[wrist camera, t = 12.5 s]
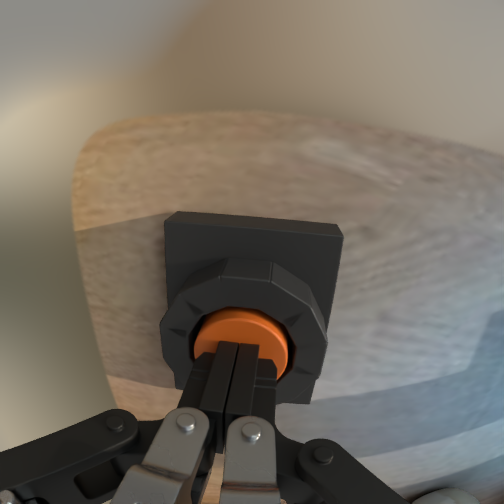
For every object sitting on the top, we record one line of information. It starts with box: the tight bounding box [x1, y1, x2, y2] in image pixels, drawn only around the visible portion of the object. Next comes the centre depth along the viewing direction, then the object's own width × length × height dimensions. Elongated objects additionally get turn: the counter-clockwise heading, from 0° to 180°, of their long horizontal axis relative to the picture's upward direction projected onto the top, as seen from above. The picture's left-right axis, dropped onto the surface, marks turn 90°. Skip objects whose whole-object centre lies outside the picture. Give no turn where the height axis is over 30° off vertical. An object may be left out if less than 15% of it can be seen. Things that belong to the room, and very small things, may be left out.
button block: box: [160, 211, 344, 405], centre depth 14 cm, size 9×7×4 cm
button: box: [194, 306, 288, 379], centre depth 13 cm, size 4×4×2 cm
